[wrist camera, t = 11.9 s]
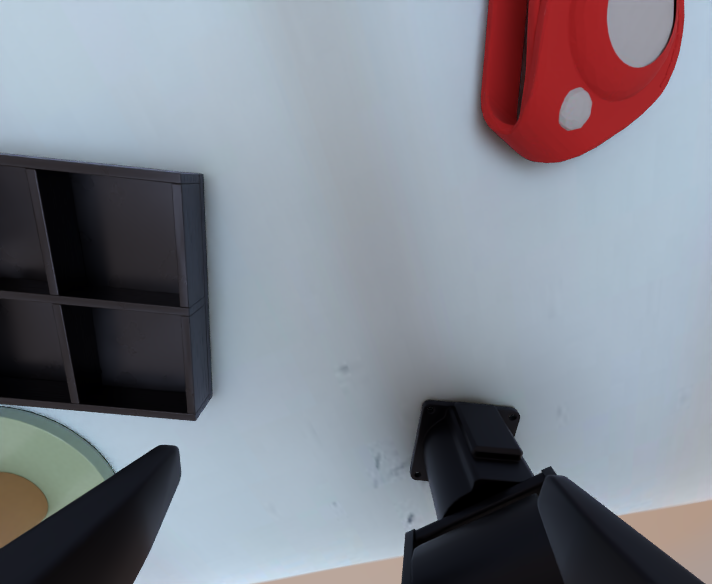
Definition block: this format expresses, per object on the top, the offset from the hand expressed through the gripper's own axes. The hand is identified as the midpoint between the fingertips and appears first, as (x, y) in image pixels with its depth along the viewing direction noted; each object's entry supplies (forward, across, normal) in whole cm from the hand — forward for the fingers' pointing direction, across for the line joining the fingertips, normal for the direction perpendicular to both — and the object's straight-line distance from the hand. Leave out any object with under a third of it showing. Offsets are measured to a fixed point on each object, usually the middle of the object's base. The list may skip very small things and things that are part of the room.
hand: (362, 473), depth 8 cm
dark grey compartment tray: (+13, +20, +1) cm, 24 cm away
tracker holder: (+13, -8, -15) cm, 22 cm away
